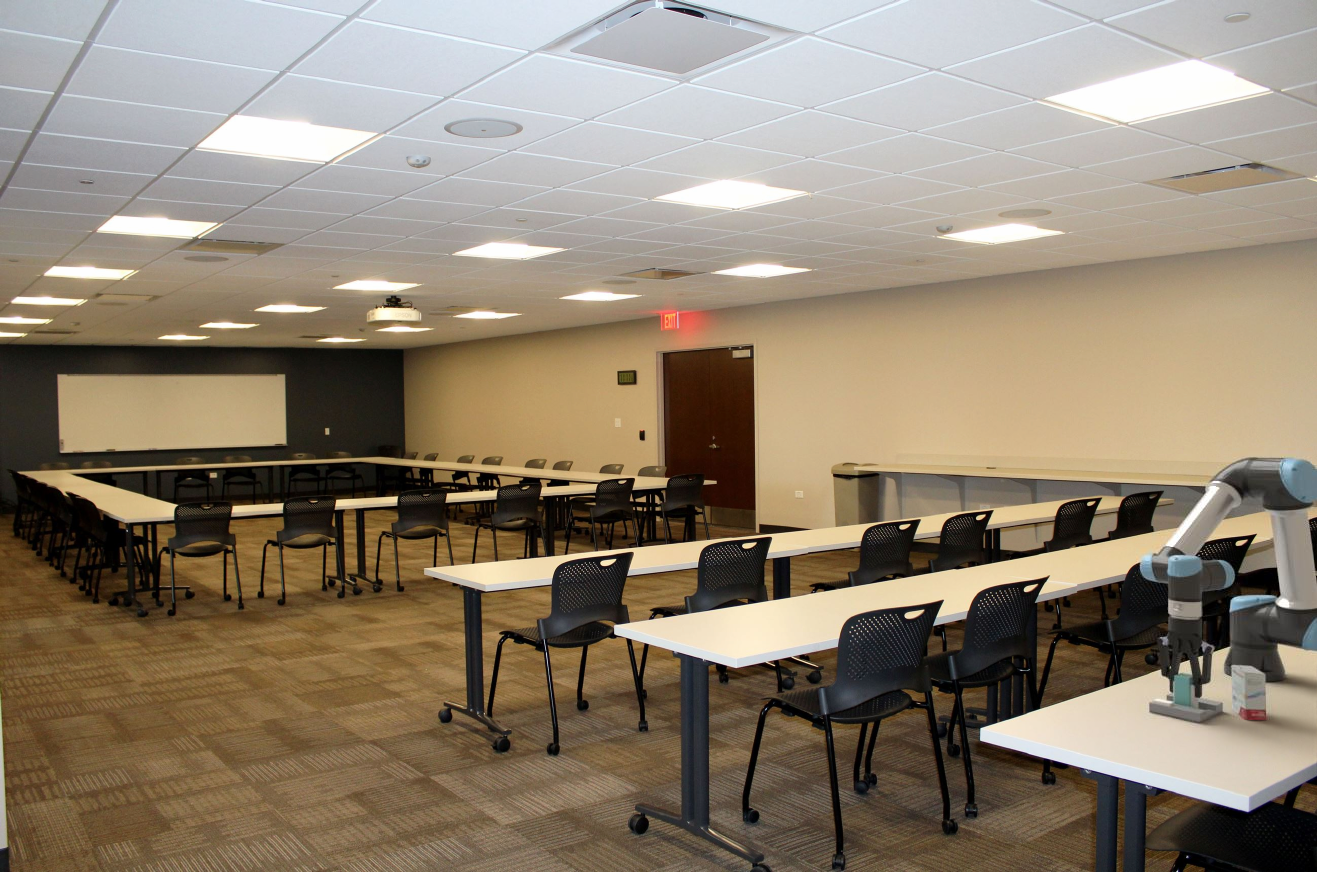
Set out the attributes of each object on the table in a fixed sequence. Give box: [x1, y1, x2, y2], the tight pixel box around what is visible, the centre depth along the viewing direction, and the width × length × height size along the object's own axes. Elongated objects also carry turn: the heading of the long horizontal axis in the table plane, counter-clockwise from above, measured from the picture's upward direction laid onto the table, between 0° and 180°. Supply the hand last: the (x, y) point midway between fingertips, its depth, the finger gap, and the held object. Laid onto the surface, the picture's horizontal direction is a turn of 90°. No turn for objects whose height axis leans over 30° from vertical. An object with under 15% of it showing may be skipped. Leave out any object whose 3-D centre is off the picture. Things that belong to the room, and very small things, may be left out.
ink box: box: [1231, 665, 1267, 721], centre depth 234 cm, size 9×5×12 cm, turn 168°
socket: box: [1148, 692, 1224, 724], centre depth 237 cm, size 14×12×3 cm
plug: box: [1174, 672, 1194, 707], centre depth 237 cm, size 4×4×9 cm
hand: (1185, 707), depth 237 cm, fingers closed on plug, 3 cm apart
